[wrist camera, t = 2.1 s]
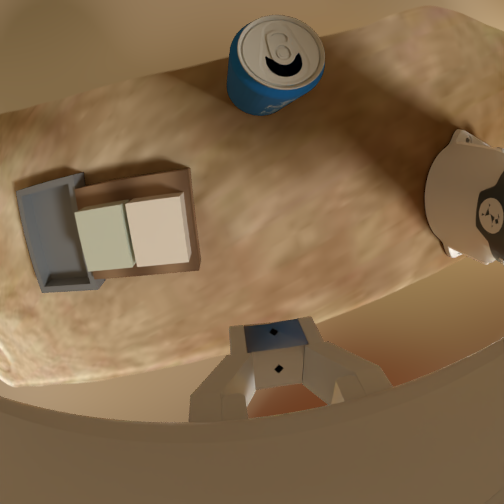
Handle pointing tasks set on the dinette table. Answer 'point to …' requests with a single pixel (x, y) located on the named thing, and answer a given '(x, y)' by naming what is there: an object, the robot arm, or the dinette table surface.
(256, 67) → the beverage can
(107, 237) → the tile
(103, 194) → the walnut plate
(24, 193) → the box
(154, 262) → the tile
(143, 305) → the dinette table surface
